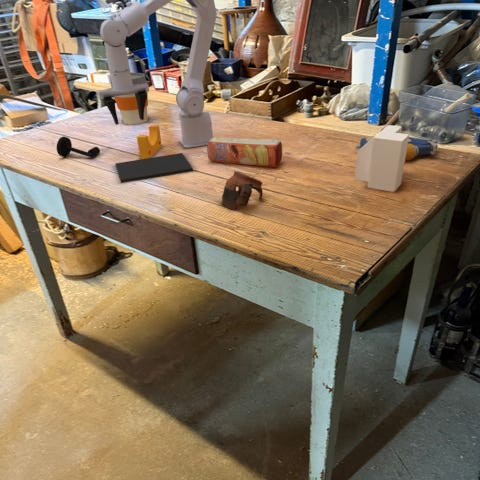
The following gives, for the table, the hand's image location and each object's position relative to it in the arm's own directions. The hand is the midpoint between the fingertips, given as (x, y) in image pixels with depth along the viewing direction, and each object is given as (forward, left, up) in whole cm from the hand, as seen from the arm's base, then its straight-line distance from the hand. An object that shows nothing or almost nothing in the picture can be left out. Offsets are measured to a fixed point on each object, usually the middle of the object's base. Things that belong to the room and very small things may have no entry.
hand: (129, 121), depth 140 cm
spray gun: (-69, +35, -10) cm, 78 cm away
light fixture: (+15, -7, -10) cm, 19 cm away
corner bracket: (-55, +50, -10) cm, 75 cm away
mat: (-3, +15, -10) cm, 18 cm away
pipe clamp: (-4, +1, -10) cm, 11 cm away
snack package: (-28, +23, -10) cm, 37 cm away
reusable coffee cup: (-5, -37, -10) cm, 39 cm away
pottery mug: (-19, +49, -10) cm, 53 cm away
